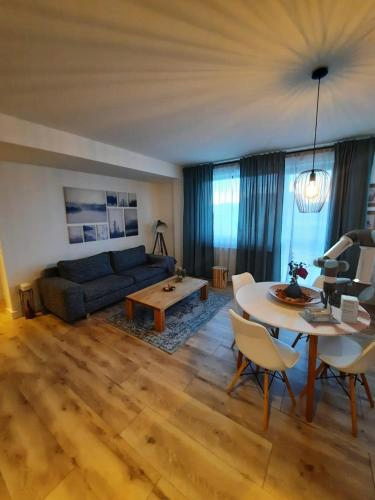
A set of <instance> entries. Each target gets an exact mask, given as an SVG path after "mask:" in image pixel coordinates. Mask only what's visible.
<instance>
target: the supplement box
mask: <svg viewBox="0 0 375 500" xmlns="http://www.w3.org/2000/svg"><path fill="white" fill-rule="evenodd" d="M359 306H360V301H359V299H358V298H357V297H352V296H345V295H341V305H340V308H339V319H340V321H341V322H345V323H349V324H355V325H356V324H358V316H359V315H358V313H359Z"/></svg>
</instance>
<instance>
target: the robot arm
mask: <svg viewBox="0 0 375 500" xmlns="http://www.w3.org/2000/svg"><path fill="white" fill-rule="evenodd" d="M353 245H358V246H359V248H360V254H359V258H358V265H357V269H356V272H355V273H356V274H355V278H354V279H352V280H351V279H350V278H348V277H347V278H346V277H338V273H341V272H342V273H343V272H346V271H348V270H349V268H350V264H349V263H348V262H347V261H346V260H337V258H338V257H339V256H340V255H341V254H342V253H344V251H345V250H346V249H348V247H351V246H353ZM374 261H375V229H353V230H351V231H349V232H347V233H345V234H343V235H342V236H341V237H340V238H339V241H338V242H336V243H335V244H333V246H332V247H331V248H330V249H328V251H326V252H325V253H324V254H323V255H322V256H320V257H315V258H314V259H313V261H312V263H313V266H314V267H316V268H320V269H323V270H324V271H323V282H322V289H321V290H320V289H319V290H318V293H319V297H320V302H321V304H322V305H323V306H324V308H325V311H324V312H325V313H326V314H330V309H331V308H332V306H333V307H336V308H339V309H340V305H341V295H345V296H352V297H357V299H358V300H362V301H368V300H371V298H372V297H373V296H374V294H375V288H374V286H372V285H373V283H372V282H371V276H372V271H373V267H374V263H375V262H374Z"/></svg>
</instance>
